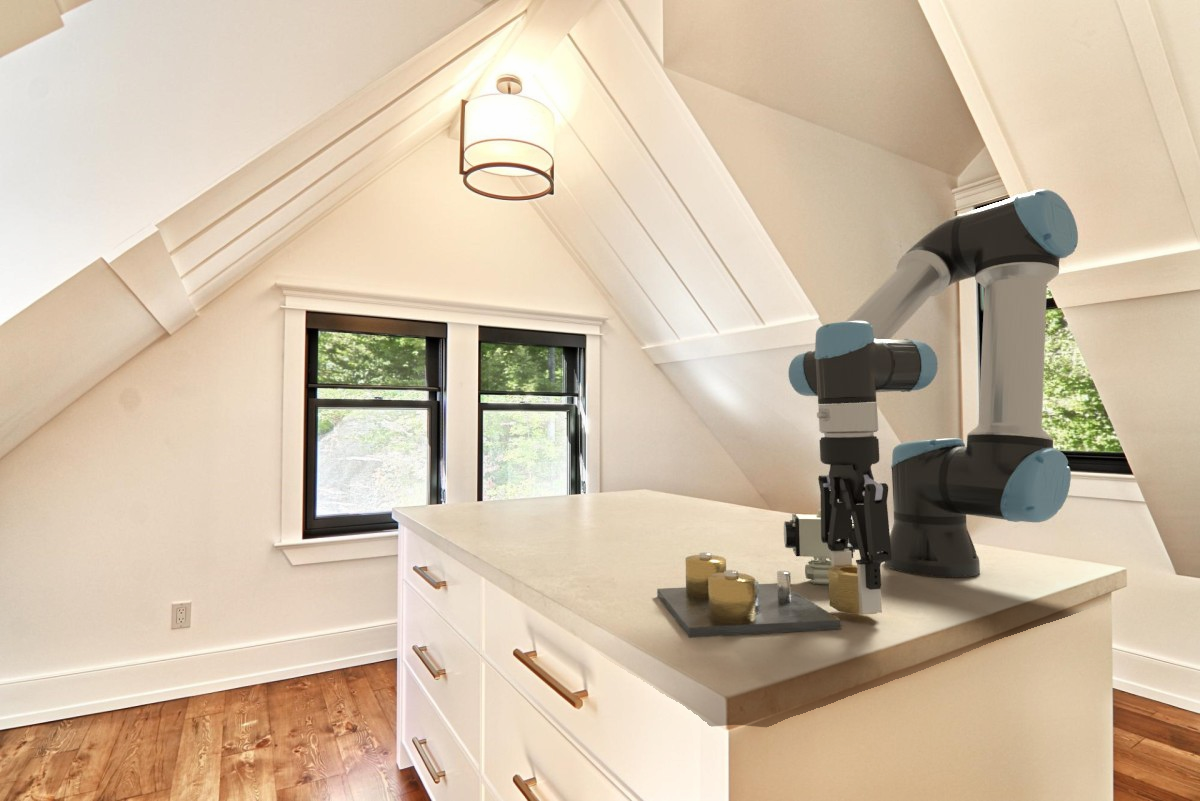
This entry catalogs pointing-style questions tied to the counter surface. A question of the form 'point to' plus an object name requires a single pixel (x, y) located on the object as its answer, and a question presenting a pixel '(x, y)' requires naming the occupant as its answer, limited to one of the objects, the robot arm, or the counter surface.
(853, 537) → the pneumatic valve
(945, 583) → the counter surface
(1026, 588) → the counter surface
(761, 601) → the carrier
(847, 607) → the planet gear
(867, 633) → the counter surface
